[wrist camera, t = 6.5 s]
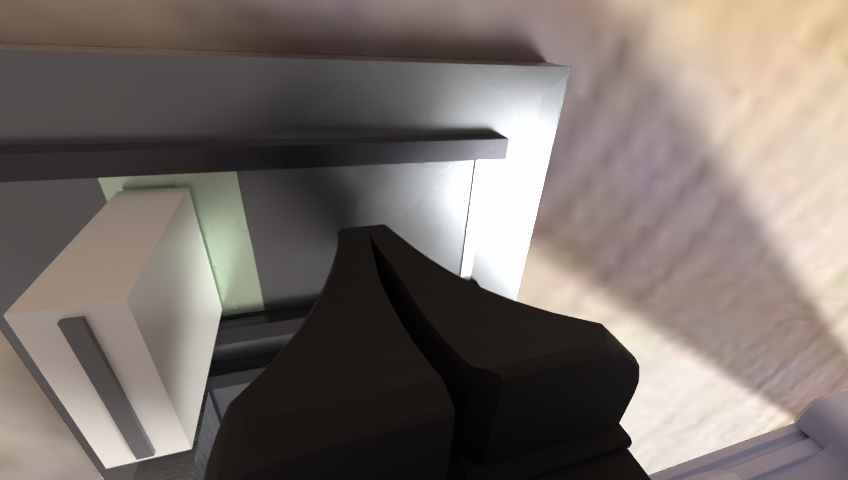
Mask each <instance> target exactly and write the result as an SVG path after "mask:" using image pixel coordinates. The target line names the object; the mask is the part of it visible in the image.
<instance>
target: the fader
mask: <svg viewBox="0 0 848 480" xmlns="http://www.w3.org/2000/svg"><path fill="white" fill-rule="evenodd" d="M221 312H222V307H221V303H220V299H219V296H218V292H217V289H216V285H215V281H214V278H213V274H212V271H211V267H210V264H209V260H208V256H207V253H206V249H205V246H204V242H203V238H202V235H201V231H200V228H199V224H198V221H197V217H196V213H195V210H194V206H193V203H192V199H191V195H190V192H189V188H188V187H182V188H164V189H146V190H128V191H117V192H116V193H115V195H114V196H113V197H112V198H111V199H110V200H109V201H108V202H107V203H106V204H105V205H104V206H103V208H102V209H101V210H100V211H99V212H98V213H97V214H96V215H95V216H94V217H93V218H92V219H91V221H90V222H89V223H88V224H87V225H86V226H85V227H84V228H83V229H82V230H81V231H80V232H79V234H78V235H77V236H76V237H75V238H74V239H73V240H72V241H71V242H70V243H69V244H68V245H67V246H66V248H65V249H64V250H63V251H62V252H61V253H60V254H59V255H58V256H57V257H56V258H55V259H54V261H53V262H52V263H51V264H50V265H49V266H48V267H47V268H46V269H45V270H44V271H43V272H42V274H41V275H40V276H39V277H38V278H37V279H36V280H35V281H34V282H33V283H32V284H31V285H30V287H29V288H28V289H27V290H26V291H25V292H24V293H23V294H22V295H21V296H20V297H19V298H18V300H17V301H16V302H15V303H14V304H13V305H12V306H11V307H10V308H9V309H8V310H7V311H6V312H5V314H4V315H3V316H4V318H5V319H6V321H7V322H8V324H9V325H10V327H11V328H12V330H13V331H14V332H15V334H16V335H17V337H18V338H19V340H20V341H21V343H22V344H23V346H24V347H25V349H26V350H27V352H28V353H29V355H30V356H31V358H32V359H33V361H34V362H35V364H36V365H37V367H38V368H39V370H40V371H41V373H42V374H43V376H44V377H45V379H46V380H47V382H48V383H49V385H50V386H51V388H52V389H53V390H54V392H55V393H56V395H57V396H58V398H59V399H60V401H61V402H62V404H63V405H64V407H65V408H66V410H67V411H68V413H69V414H70V416H71V417H72V419H73V420H74V422H75V423H76V425H77V426H78V428H79V429H80V431H81V432H82V434H83V435H84V437H85V438H86V440H87V441H88V443H89V444H90V446H91V447H92V448H93V450H94V451H95V453H96V454H97V456H98V457H99V459H100V460H101V462H102V463H103V465H104V466H105V468H106V469H107V468H112V467H116V466H120V465H125V464H129V463H133V462H138V461H142V460H146V459H151V458H155V457H160V456H164V455H168V454H173V453H177V452H181V451H186V450H190V449H192V446H193V441H194V437H195V432H196V427H197V423H198V418H199V414H200V409H201V404H202V400H203V395H204V390H205V386H206V381H207V377H208V372H209V367H210V363H211V358H212V354H213V349H214V344H215V340H216V335H217V330H218V326H219V321H220V317H221Z"/></svg>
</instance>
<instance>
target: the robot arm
mask: <svg viewBox="0 0 848 480" xmlns="http://www.w3.org/2000/svg"><path fill="white" fill-rule="evenodd" d="M337 233H338V246H337V251H336V255H335V258H334V261H333V264H332V268H331V270H330V273H329V275H328V277H327V280H326V282H325V285H324V287H323V289H322V291H321V293H320V295H319V297H318V299H317V301H316V302H315V304H314V306H313V307H312V309H311V311H310V312H309V314H308V315H307V317H306V318H305V320H304V321H303V323H302V324H301V326H300V327H299V329H298V330H297V332H296V333H295V334H294V336H293V337H292V338H291V340H290V341H289V342H288V343H287V344H286V345H285V347H284V348H283V349H282V350H281V351H280V353H279V354H278V355H277V356H276V357H275V358H274V360H273V361H272V362H271V363H270V364H269V365H268V366H267V368H266V369H265V370H264V371H263V372H262V373H261V374H260V375H259V376H258V377H257V378H256V379H255V380H254V381H253V382H251V383H250V384H249V385H248V386H247V387H246V388H245V389H244V390H243V391H242V392H241V393H240V394H239V395H238V396H237V397H236V398H235V399H234V400H233V401H231V402H230V403H229V405H228V407H227V409H226V412H225V414H224V416H223V419H222V421H221V424H220V426H219V429H218V432H217V434H216V437H215V440H214V443H213V446H212V449H211V452H210V456H209V459H208V462H207V465H206V469H205V473H204V478H203V480H848V387H847V388H844V389H842V390H839V391H836V392H833V393H830V394H827V395H824V396H821V397H819V398H817V399H815V400H814V401H812V402H811V403H809V404H808V405H807V406H806V407H805V408H804V409H803V410H802V411H801V412H800V413H799V415H798V416H797V417H796V418H795V423H793V424H790V425H787V426H785V427H782V428H779V429H776V430H773V431H771V432H768V433H765V434H762V435H759V436H757V437H754V438H751V439H748V440H746V441H743V442H740V443H737V444H734V445H732V446H729V447H726V448H723V449H720V450H718V451H715V452H712V453H709V454H706V455H704V456H701V457H698V458H695V459H693V460H690V461H687V462H684V463H681V464H679V465H676V466H673V467H670V468H667V469H665V470H662V471H659V472H656V473H653V474H651V475H647V474H646V472H645V471H644V470H643V468H642V467H641V466H640V464H639V463H638V462H637V461H636V459H635V458H634V457H633V455H632V454H631V453H630V451H629V450H628V449H627V448H628V447H630V446H631V444H632V441H631V438H630V436H629V435H628V434H627V433H626V431H625V430H624V429H623V428H622V426H621V425H620V424H619V422H620V420H621V418H622V416H623V414H624V412H625V410H626V408H627V406H628V404H629V403H630V401H631V399H632V397H633V395H634V393H635V390H636V387H637V385H638V382H639V365H638V363H637V361H636V359H635V357H634V356H633V355H632V354H631V353H630V352H629V351H628V350H627V349H626V348H625V347H624V346H623V345H622V344H621V343H620V342H619V341H618V340H617V339H616V338H615V337H614V336H613V335H612V334H611V333H610V332H609V331H608V330H607V329H606V328H605V327H604V326H603V325H602V324H600V323H596V322H591V321H587V320H582V319H578V318H573V317H569V316H565V315H560V314H556V313H552V312H549V311H545V310H542V309H539V308H535V307H532V306H529V305H526V304H523V303H520V302H517V301H514V300H511V299H509V298H506V297H503V296H501V295H498V294H496V293H493V292H491V291H488V290H486V289H484V288H482V287H479V286H477V285H475V284H473V283H471V282H469V281H467V280H465V279H463V278H461V277H459V276H458V275H456V274H454V273H452V272H450V271H449V270H447V269H445V268H444V267H442V266H441V265H439V264H437V263H436V262H434V261H433V260H431V259H430V258H428V257H427V256H425V255H424V254H422V253H421V252H420V251H418V250H417V249H416V248H414V247H413V246H412V245H410V244H409V243H408V242H406V241H405V240H404V239H403V238H401V237H400V236H399V235H398V234H396V233H395V232H394V231H393V230H391V229H390V228H389V227H388V226H386V225H385V224H380V225H370V226H360V227H350V228H341V229H340V230H339V231H338V232H337Z"/></svg>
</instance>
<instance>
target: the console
mask: <svg viewBox="0 0 848 480" xmlns="http://www.w3.org/2000/svg"><path fill="white" fill-rule="evenodd" d="M570 69H571V67H567V66H562V65H557V64H553V63H548V62H520V61H491V60H463V59H434V58H406V57H377V56H349V55H321V54H292V53H264V52H235V51H207V50H178V49H150V48H122V47H93V46H65V45H36V44H8V43H0V330H1V331H2V332H3V334H4V335H5V337H6V338H7V340H8V341H9V342H10V344H11V345H12V347H13V348H14V350H15V351H16V353H17V354H18V355H19V357H20V358H21V360H22V361H23V363H24V364H25V366H26V367H27V368H28V370H29V371H30V373H31V374H32V376H33V377H34V378H35V380H36V381H37V383H38V384H39V386H40V387H41V389H42V390H43V391H44V393H45V394H46V396H47V397H48V399H49V400H50V402H51V403H52V404H53V406H54V407H55V409H56V410H57V412H58V413H59V414H60V416H61V417H62V419H63V420H64V422H65V423H66V425H67V426H68V427H69V429H70V430H71V432H72V433H73V435H74V436H75V438H76V439H77V440H78V442H79V443H80V445H81V446H82V448H83V449H84V450H85V452H86V453H87V455H88V456H89V458H90V459H91V461H92V462H93V463H94V465H95V466H96V468H97V469H98V471H99V472H100V474H101V475H102V476H103V478H104V479H105V480H203V478H204V473H205V469H206V465H207V462H208V459H209V456H210V452H211V449H212V446H213V443H214V440H215V437H216V434H217V432H218V429H219V426H220V424H221V421H222V419H223V416H224V414H225V412H226V409H227V407H228V405H229V403H230V402H231V401H233V400H234V399H235V398H236V397H237V396H238V395H239V394H240V393H241V392H242V391H243V390H244V389H245V388H246V387H247V386H248V385H249V384H250V383H251V382H253V381H254V380H255V379H256V378H257V377H258V376H259V375H260V374H261V373H262V372H263V371H264V370H265V369H266V368H267V366H268V365H269V364H270V363H271V362H272V361H273V360H274V358H275V357H276V356H277V355H278V354H279V353H280V351H281V350H282V349H283V348H284V347H285V345H286V344H287V343H288V342H289V341H290V340H291V338H292V337H293V336H294V334H295V333H296V332H297V330H298V329H299V327H300V326H301V324H302V323H303V321H304V320H305V318H306V317H307V315H308V314H309V312H310V311H311V309H312V307H313V306H314V304H315V302H316V301H317V299H318V297H319V295H320V293H321V291H322V289H323V287H324V285H325V282H326V280H327V277H328V275H329V273H330V270H331V268H332V264H333V261H334V258H335V255H336V251H337V246H338V233H337V232H338V231H339V230H340V229H341V228H350V227H360V226H370V225H380V224H385V225H386V226H388V227H389V228H390V229H391V230H393V231H394V232H395V233H396V234H398V235H399V236H400V237H401V238H403V239H404V240H405V241H406V242H408V243H409V244H410V245H412V246H413V247H414V248H416V249H417V250H418V251H420V252H421V253H422V254H424V255H425V256H427V257H428V258H430V259H431V260H433V261H434V262H436V263H437V264H439V265H441V266H442V267H444V268H445V269H447V270H449V271H450V272H452V273H454V274H456V275H458V276H459V277H461V278H463V279H465V280H467V281H469V282H471V283H473V284H475V285H477V286H479V287H482V288H484V289H486V290H488V291H491V292H493V293H496V294H498V295H501V296H503V297H506V298H509V299H511V300H514V301H516V299H517V295H518V290H519V286H520V282H521V277H522V273H523V269H524V265H525V260H526V256H527V252H528V248H529V243H530V239H531V235H532V231H533V226H534V222H535V218H536V214H537V209H538V205H539V201H540V196H541V192H542V188H543V184H544V179H545V175H546V171H547V167H548V162H549V158H550V154H551V150H552V145H553V141H554V137H555V132H556V128H557V124H558V120H559V115H560V111H561V107H562V103H563V98H564V94H565V90H566V86H567V81H568V77H569V73H570ZM182 187H188V188H189V192H190V195H191V199H192V203H193V206H194V210H195V213H196V217H197V221H198V224H199V228H200V231H201V235H202V238H203V242H204V246H205V249H206V253H207V256H208V260H209V264H210V267H211V271H212V274H213V278H214V281H215V285H216V289H217V292H218V296H219V299H220V303H221V307H222V312H221V317H220V321H219V326H218V330H217V335H216V340H215V344H214V349H213V354H212V358H211V363H210V367H209V372H208V377H207V381H206V386H205V390H204V395H203V400H202V404H201V409H200V414H199V418H198V423H197V427H196V432H195V437H194V441H193V446H192V449H190V450H186V451H181V452H177V453H173V454H168V455H164V456H160V457H155V458H151V459H146V460H142V461H138V462H133V463H129V464H125V465H120V466H116V467H112V468H107V469H106V468H105V466H104V465H103V463H102V462H101V460H100V459H99V457H98V456H97V454H96V453H95V451H94V450H93V448H92V447H91V446H90V444H89V443H88V441H87V440H86V438H85V437H84V435H83V434H82V432H81V431H80V429H79V428H78V426H77V425H76V423H75V422H74V420H73V419H72V417H71V416H70V414H69V413H68V411H67V410H66V408H65V407H64V405H63V404H62V402H61V401H60V399H59V398H58V396H57V395H56V393H55V392H54V390H53V389H52V388H51V386H50V385H49V383H48V382H47V380H46V379H45V377H44V376H43V374H42V373H41V371H40V370H39V368H38V367H37V365H36V364H35V362H34V361H33V359H32V358H31V356H30V355H29V353H28V352H27V350H26V349H25V347H24V346H23V344H22V343H21V341H20V340H19V338H18V337H17V335H16V334H15V332H14V331H13V330H12V328H11V327H10V325H9V324H8V322H7V321H6V319H5V318H4V316H3V315H4V314H5V312H6V311H7V310H8V309H9V308H10V307H11V306H12V305H13V304H14V303H15V302H16V301H17V300H18V298H19V297H20V296H21V295H22V294H23V293H24V292H25V291H26V290H27V289H28V288H29V287H30V285H31V284H32V283H33V282H34V281H35V280H36V279H37V278H38V277H39V276H40V275H41V274H42V272H43V271H44V270H45V269H46V268H47V267H48V266H49V265H50V264H51V263H52V262H53V261H54V259H55V258H56V257H57V256H58V255H59V254H60V253H61V252H62V251H63V250H64V249H65V248H66V246H67V245H68V244H69V243H70V242H71V241H72V240H73V239H74V238H75V237H76V236H77V235H78V234H79V232H80V231H81V230H82V229H83V228H84V227H85V226H86V225H87V224H88V223H89V222H90V221H91V219H92V218H93V217H94V216H95V215H96V214H97V213H98V212H99V211H100V210H101V209H102V208H103V206H104V205H105V204H106V203H107V202H108V201H109V200H110V199H111V198H112V197H113V196H114V195H115V193H116V192H117V191H128V190H146V189H164V188H182Z"/></svg>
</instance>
